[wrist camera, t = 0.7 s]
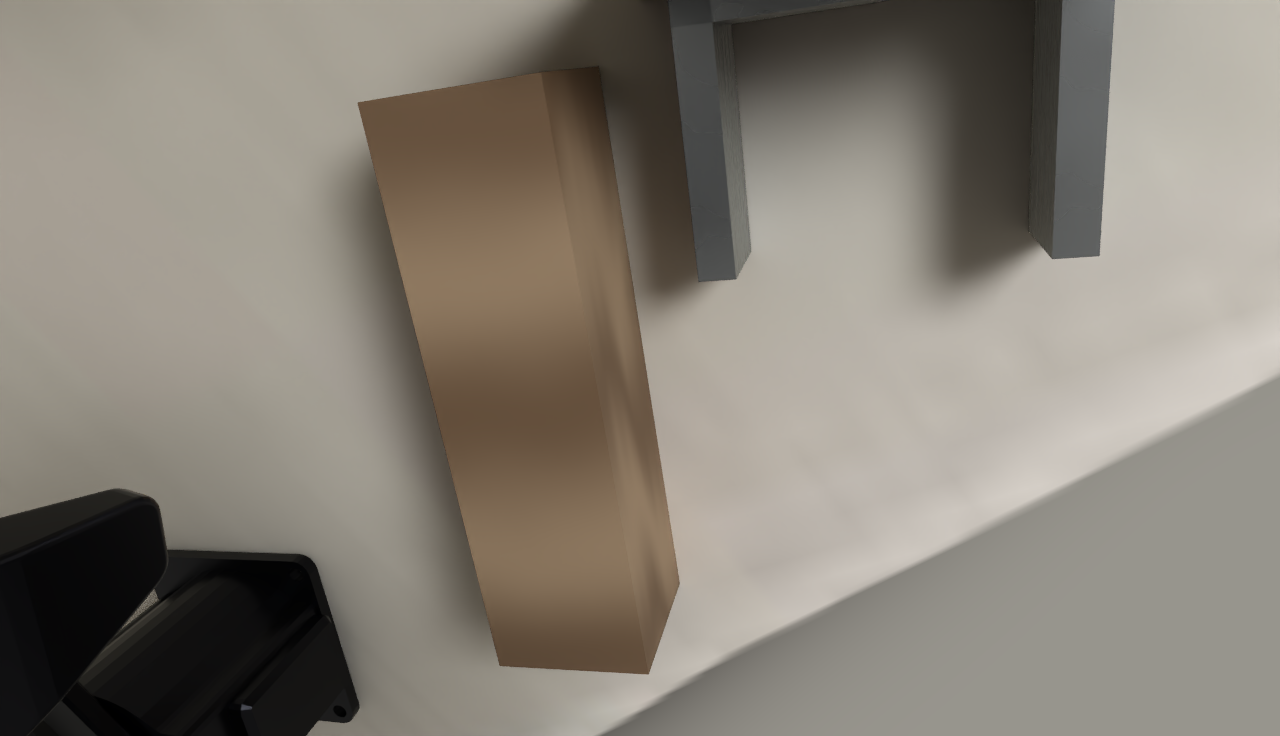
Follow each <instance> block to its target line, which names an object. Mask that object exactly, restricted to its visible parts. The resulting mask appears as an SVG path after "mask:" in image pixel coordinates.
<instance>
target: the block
mask: <svg viewBox="0 0 1280 736" xmlns="http://www.w3.org/2000/svg"><path fill="white" fill-rule="evenodd" d="M358 106H359V110H360V114H361V118H362V122H363V126H364V130H365V134H366V138H367V142H368V146H369V150H370V154H371V158H372V162H373V166H374V170H375V174H376V178H377V182H378V186H379V190H380V194H381V197H382V201H383V205H384V209H385V213H386V217H387V221H388V225H389V229H390V233H391V237H392V241H393V245H394V249H395V253H396V257H397V261H398V265H399V269H400V273H401V277H402V281H403V285H404V289H405V293H406V297H407V300H408V304H409V308H410V312H411V316H412V320H413V324H414V328H415V332H416V336H417V340H418V344H419V348H420V352H421V356H422V360H423V364H424V368H425V372H426V376H427V380H428V384H429V388H430V392H431V396H432V399H433V403H434V407H435V411H436V415H437V419H438V423H439V427H440V431H441V435H442V439H443V443H444V447H445V451H446V455H447V459H448V463H449V467H450V471H451V475H452V479H453V483H454V487H455V491H456V495H457V498H458V502H459V506H460V510H461V514H462V518H463V522H464V526H465V530H466V534H467V538H468V542H469V546H470V550H471V554H472V558H473V562H474V566H475V570H476V574H477V578H478V582H479V586H480V590H481V594H482V597H483V601H484V605H485V609H486V613H487V617H488V621H489V625H490V629H491V633H492V637H493V641H494V645H495V649H496V653H497V657H498V661H499V665H500V666H510V667H527V668H545V669H563V670H580V671H598V672H616V673H633V674H649V672H650V669H651V666H652V663H653V660H654V657H655V654H656V651H657V648H658V645H659V643H660V640H661V637H662V634H663V631H664V628H665V625H666V622H667V619H668V616H669V613H670V610H671V607H672V605H673V602H674V599H675V596H676V593H677V590H678V587H679V584H680V582H679V576H678V569H677V563H676V557H675V550H674V544H673V538H672V531H671V525H670V518H669V512H668V506H667V499H666V493H665V487H664V480H663V474H662V467H661V461H660V455H659V448H658V442H657V435H656V429H655V423H654V416H653V410H652V404H651V397H650V391H649V384H648V378H647V372H646V365H645V359H644V353H643V346H642V340H641V333H640V327H639V321H638V314H637V308H636V302H635V295H634V289H633V282H632V276H631V270H630V263H629V257H628V251H627V244H626V238H625V231H624V225H623V219H622V212H621V206H620V200H619V193H618V187H617V180H616V174H615V168H614V161H613V155H612V149H611V142H610V136H609V129H608V123H607V117H606V110H605V104H604V98H603V91H602V85H601V78H600V72H599V66H596V67H587V68H577V69H567V70H557V71H547V72H539V73H533V74H527V75H521V76H515V77H509V78H503V79H497V80H491V81H485V82H479V83H473V84H467V85H460V86H454V87H448V88H442V89H436V90H430V91H424V92H418V93H412V94H406V95H400V96H394V97H388V98H382V99H376V100H370V101H364V102H358Z"/></svg>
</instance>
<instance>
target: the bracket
mask: <svg viewBox="0 0 1280 736" xmlns="http://www.w3.org/2000/svg"><path fill="white" fill-rule="evenodd" d="M881 1H888V0H668V7H669V16H670V25H671V34H672V43H673V52H674V61H675V70H676V80H677V89H678V98H679V107H680V116H681V125H682V134H683V143H684V153H685V162H686V171H687V180H688V189H689V198H690V207H691V216H692V226H693V235H694V244H695V253H696V262H697V271H698V280H699V282H702V281H718V280H733V279H737V277H738V275H739V273H740V271H741V269H742V268H743V266H744V264H745V262H746V260H747V258H748V256H749V254H750V253H751V244H750V232H749V221H748V209H747V197H746V186H745V174H744V163H743V151H742V139H741V128H740V116H739V105H738V93H737V81H736V70H735V58H734V46H733V35H732V24H735V23H742V22H748V21H755V20H762V19H768V18H775V17H782V16H788V15H795V14H802V13H808V12H815V11H821V10H828V9H835V8H841V7H848V6H855V5H861V4H868V3H875V2H881ZM1114 5H1115V0H1035V28H1034V62H1033V95H1032V128H1031V162H1030V195H1029V228H1028V231H1029V232H1030V234H1031V235H1032V236H1033V237H1034V238H1035V239H1036V241H1037V242H1038V243H1039V244H1040V245H1041V247H1042V248H1043V249H1044V250H1045V251H1046V252H1047V254H1048V255H1049V256H1050V257H1051V258H1052V259H1061V258H1077V257H1093V256H1099V255H1100V238H1101V221H1102V205H1103V188H1104V171H1105V155H1106V138H1107V122H1108V105H1109V88H1110V72H1111V55H1112V38H1113V22H1114Z"/></svg>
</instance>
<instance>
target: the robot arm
mask: <svg viewBox="0 0 1280 736" xmlns="http://www.w3.org/2000/svg"><path fill="white" fill-rule="evenodd" d="M300 571H301V572H300ZM154 589H155V591H156V594H157V596H158V599H159V600H158V601H157V602H155V603H154V604H153V605H152V606H150V607H149V608H148V609H147V610H145V611H144V612H143V613H142V614H140V615H139V616H138V617H137V618H135V619H134V620H133V621H131V622H130V623H129V624H128V625H126V626H125V627H124V628H123V629H121V628H122V627H123V626H124V625H125V623H126V622H127V621H128V620H129V619H130V617H131V616H132V615H133V614H134V612H135V611H136V610H137V609H138V608H139V606H140V605H141V604H142V603H143V602H144V600H145V599H146V598H147V597H148V596H149V594H150V593H151V592H152V591H153V590H154ZM120 629H121V630H120ZM358 710H359V702H358V699H357V696H356V693H355V689H354V686H353V683H352V680H351V676H350V673H349V670H348V667H347V664H346V660H345V657H344V654H343V651H342V647H341V644H340V641H339V638H338V634H337V631H336V628H335V625H334V622H333V618H332V615H331V612H330V609H329V605H328V602H327V599H326V596H325V592H324V589H323V586H322V583H321V580H320V576H319V573H318V570H317V567H316V565H315V563H314V562H313V561H312V560H311V559H310V558H308V557H306V556H304V555H300V554H272V553H242V552H213V551H184V550H167V546H166V540H165V535H164V529H163V523H162V518H161V512H160V508H159V505H158V504H157V502H156V501H155V500H154V499H153V498H151V497H149V496H146V495H143V494H140V493H136V492H133V491H130V490H126V489H110V490H106V491H102V492H98V493H95V494H91V495H87V496H83V497H79V498H75V499H71V500H68V501H64V502H60V503H56V504H52V505H48V506H44V507H40V508H37V509H33V510H29V511H25V512H21V513H17V514H13V515H10V516H6V517H2V518H0V736H306V735H307V734H308V733H309V731H310V730H311V729H312V728H313V726H314V725H315V724H316V723H317V721H318V720H320V721H330V722H340V723H348V722H350V721H351V720H352V719H353V718H354V716H355V715H356V714H357V712H358Z"/></svg>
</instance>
